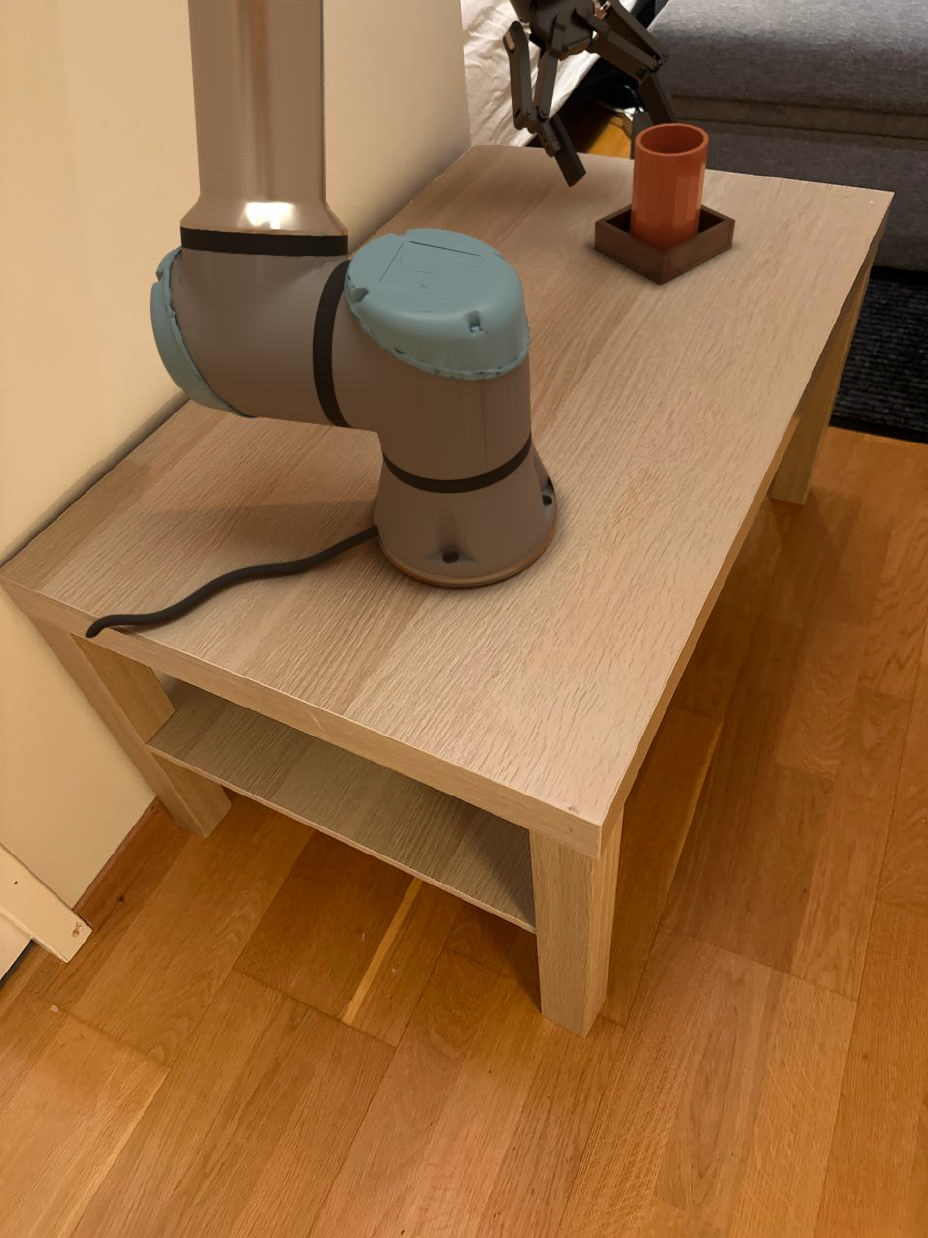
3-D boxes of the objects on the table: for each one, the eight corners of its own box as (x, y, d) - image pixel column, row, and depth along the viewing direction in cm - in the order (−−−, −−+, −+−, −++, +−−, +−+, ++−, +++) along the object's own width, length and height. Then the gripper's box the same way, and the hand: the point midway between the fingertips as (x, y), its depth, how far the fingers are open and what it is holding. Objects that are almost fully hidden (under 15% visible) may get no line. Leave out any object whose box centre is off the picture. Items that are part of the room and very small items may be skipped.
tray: (661, 284, 95) (663, 257, 92) (594, 247, 101) (594, 221, 98) (731, 247, 98) (735, 219, 96) (663, 213, 104) (665, 186, 101)
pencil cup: (661, 267, 96) (671, 162, 87) (616, 242, 100) (620, 140, 91) (709, 241, 98) (723, 137, 90) (663, 218, 102) (672, 116, 93)
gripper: (607, -43, 101) (689, 136, 104) (425, 24, 93) (521, 215, 97) (643, -94, 94) (729, 101, 97) (450, -26, 86) (552, 182, 89)
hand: (626, 158), depth 97 cm, fingers open, 13 cm apart
